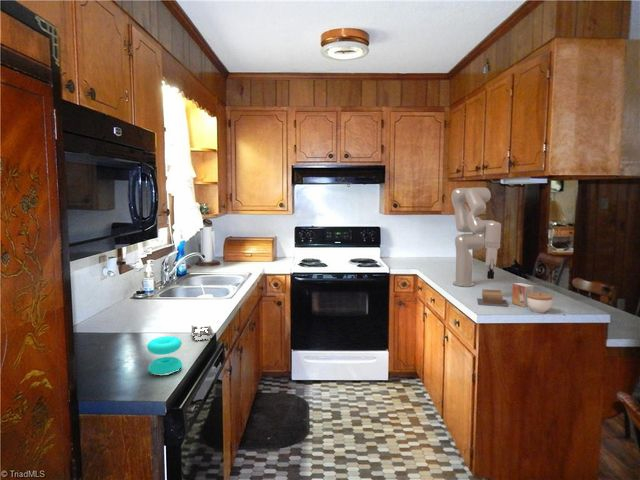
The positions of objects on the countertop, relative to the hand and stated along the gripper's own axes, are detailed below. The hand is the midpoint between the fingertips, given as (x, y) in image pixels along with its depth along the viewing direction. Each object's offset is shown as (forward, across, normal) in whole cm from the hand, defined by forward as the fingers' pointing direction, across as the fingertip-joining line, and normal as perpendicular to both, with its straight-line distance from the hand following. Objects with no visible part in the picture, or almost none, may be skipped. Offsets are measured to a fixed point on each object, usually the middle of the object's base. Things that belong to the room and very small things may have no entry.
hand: (490, 278), depth 231 cm
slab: (+7, +5, +1) cm, 9 cm away
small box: (+10, +13, +15) cm, 22 cm away
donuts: (+7, +139, -102) cm, 172 cm away
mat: (+10, +14, +1) cm, 17 cm away
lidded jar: (+9, +24, +21) cm, 33 cm away
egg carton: (+8, +106, -110) cm, 153 cm away
